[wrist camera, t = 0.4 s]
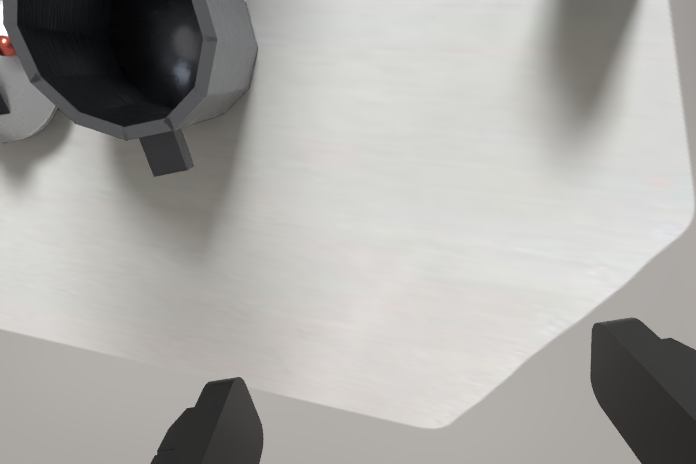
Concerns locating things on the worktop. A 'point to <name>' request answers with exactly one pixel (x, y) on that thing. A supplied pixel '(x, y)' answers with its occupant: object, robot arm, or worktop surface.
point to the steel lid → (19, 96)
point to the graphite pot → (136, 65)
